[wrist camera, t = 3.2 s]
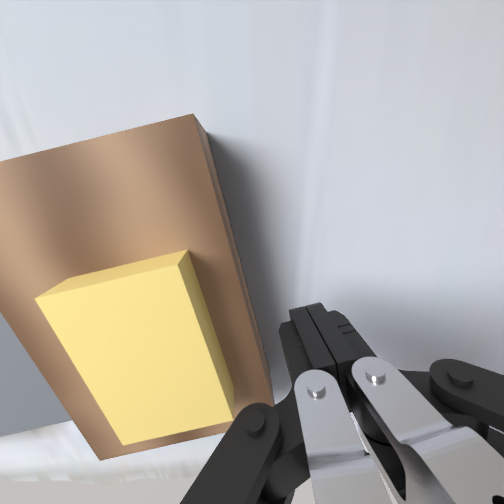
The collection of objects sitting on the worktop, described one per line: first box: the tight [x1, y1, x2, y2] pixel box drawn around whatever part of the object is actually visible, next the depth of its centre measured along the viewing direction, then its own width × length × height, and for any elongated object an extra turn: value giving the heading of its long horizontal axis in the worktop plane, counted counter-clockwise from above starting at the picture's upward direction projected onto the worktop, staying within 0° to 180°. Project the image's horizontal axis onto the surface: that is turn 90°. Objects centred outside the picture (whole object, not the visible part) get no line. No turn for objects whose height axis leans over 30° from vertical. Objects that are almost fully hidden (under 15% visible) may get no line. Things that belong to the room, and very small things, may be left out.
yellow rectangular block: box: [35, 250, 234, 445], centre depth 12 cm, size 6×9×2 cm, turn 13°
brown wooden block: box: [0, 114, 275, 461], centre depth 14 cm, size 12×18×4 cm, turn 13°
